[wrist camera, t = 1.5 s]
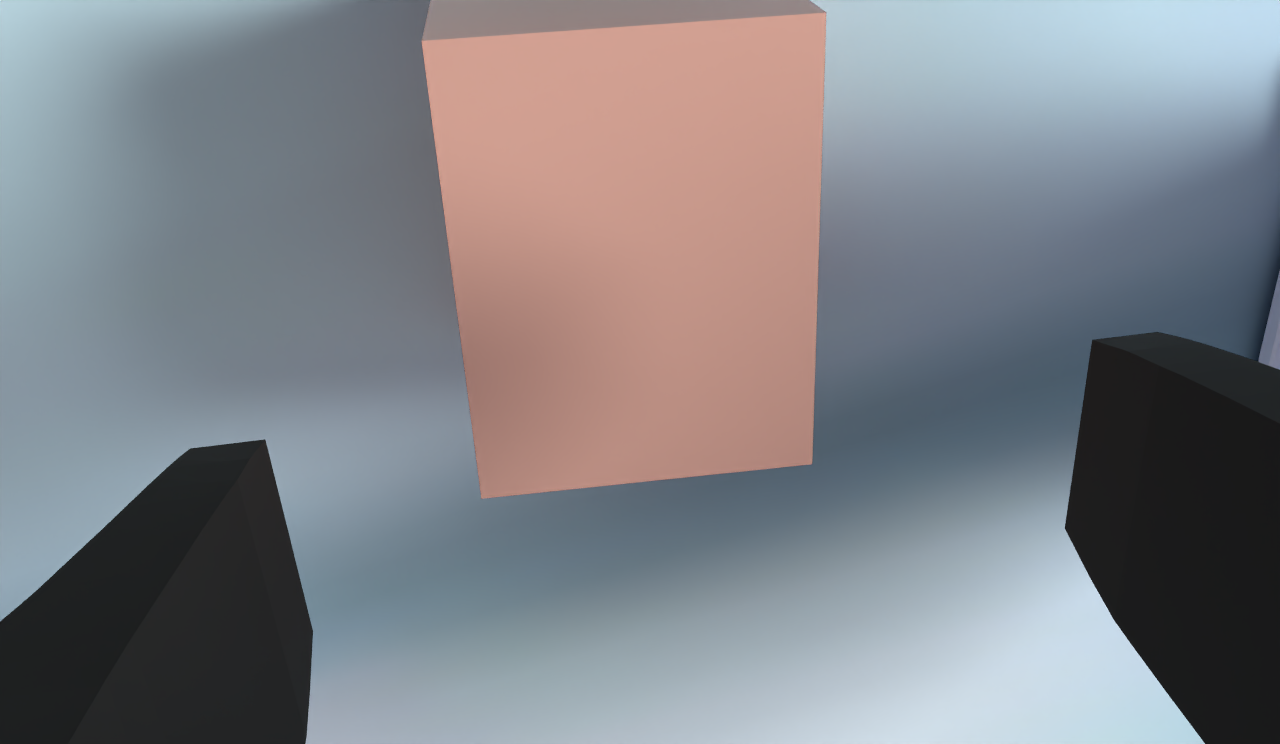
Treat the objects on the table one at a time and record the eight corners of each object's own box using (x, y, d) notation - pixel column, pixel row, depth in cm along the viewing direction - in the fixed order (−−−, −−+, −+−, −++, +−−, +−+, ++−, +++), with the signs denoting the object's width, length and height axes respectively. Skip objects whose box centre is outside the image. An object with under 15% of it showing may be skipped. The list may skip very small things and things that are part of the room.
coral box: (739, -52, 17) (826, 12, 13) (740, 311, 20) (812, 464, 16) (436, -31, 17) (421, 40, 13) (481, 335, 20) (480, 498, 15)
